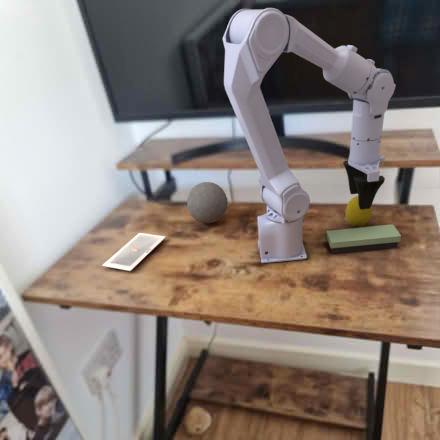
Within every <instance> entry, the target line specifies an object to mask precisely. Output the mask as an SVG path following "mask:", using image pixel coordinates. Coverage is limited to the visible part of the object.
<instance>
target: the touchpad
mask: <svg viewBox="0 0 440 440" xmlns="http://www.w3.org/2000/svg"><path fill="white" fill-rule="evenodd" d="M166 237H167V236H166V235H158V234H151V233H143V232H138V233H137V234H136V235H135V236H134V237H132V238H131V239H130V240H129V241H128V242H127V243H125V244H124V245H123V246H122V247H121V248H120V249H119V250H118V251H116V252H115V253H114V254H113V255H112V256H111V257H109V259H107V260H106V261H105V262H104V263H103V264H102V265H101V266H102V267H107V268H112V269H118V270H121V271H127V272H131V271H132V270H133V269H134V268H135V267H136V266H137V265H139V263H140V262H141V261H142V260H143V259H145V258H146V256H147V255H149V254H150V253H151V252H152V251H153V250H154V249H155V248H157V246H158V245H159V244H160V243H161V242H162V241H163V240H164V239H165V238H166Z"/></svg>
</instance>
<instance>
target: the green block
mask: <svg viewBox="0 0 440 440" xmlns="http://www.w3.org/2000/svg"><path fill="white" fill-rule="evenodd" d="M325 237H326V239H327V245H328V247H329V249H330V252H331V254H332V255H333V254H343V253H354V252H365V251H366V252H367V251H375V250H376V251H377V250H386V249H397V247H398V243H400V242H401V240H402V235H401V233H400V232H399V230H398V229H397V228H396V226H395V225H394V224H383V225H373V226H362V227H359V228H355V227H353V228H352V227H351V228H342V229H332V230H331V229H330V230H326V231H325Z"/></svg>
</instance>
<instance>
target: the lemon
mask: <svg viewBox="0 0 440 440" xmlns="http://www.w3.org/2000/svg"><path fill="white" fill-rule="evenodd" d="M344 214H345V220H346V222H347V224H349V226H350V227H353V228H361V227H365V226H366V225H367V224H368V223H369V222H370V220H371V218H372V214H373V206H372V205H371V207H370V209H362V210H360V208H359V203H358V195H357V196H353V197H352V198H351V199H350V200H349V201H348V203H347V204H346V208H345V213H344Z"/></svg>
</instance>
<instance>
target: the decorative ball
mask: <svg viewBox="0 0 440 440" xmlns="http://www.w3.org/2000/svg"><path fill="white" fill-rule="evenodd" d="M186 200H187V201H186V204H187V210H188V212H189V215H190V216H191V217H192V218H193V219H194V220H196V221H197V222H199V223H202V224H213V223H215V222H218V221H219V220H221V218H223V217H224V215H225V214H226V211H227V209H228V197H227V194H226V192H225V190H224V188H222V187H221V186H220V185H218V184H217V183H215V182H211V181H204V182H200V183H197V184H196V185H194V186H193V187H192V188H191V190H190V191H189V193H188V195H187V199H186Z"/></svg>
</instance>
